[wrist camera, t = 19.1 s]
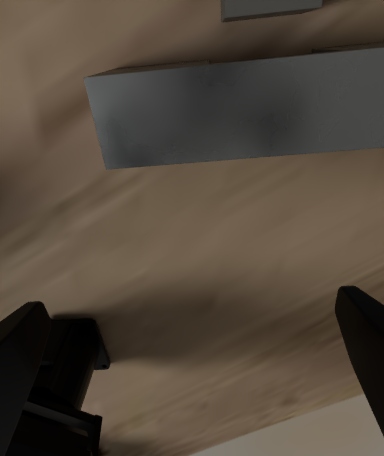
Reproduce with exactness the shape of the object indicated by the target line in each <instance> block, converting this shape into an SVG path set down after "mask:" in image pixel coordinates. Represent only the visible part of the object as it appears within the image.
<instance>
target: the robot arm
mask: <svg viewBox="0 0 384 456" xmlns="http://www.w3.org/2000/svg"><path fill="white" fill-rule="evenodd" d="M335 314H336V317H337V321H338V324H339V327H340V330H341V333H342V336H343V339H344V343H345V346H346V349H347V352H348V355H349V358H350V361H351V364H352V366H353V369H354V371H355V373H356V376H357V378H358V380H359V382H360V385H361V387H362V389H363V391H364V394H365V396H366V398H367V400H368V402H369V405H370V407H371V409H372V411H373V414H374V416H375V418H376V420H377V423H378V425H379V427H380V429H381V432H382V434H383V436H384V305H383V304H381V303H380V302H378V301H377V300H375V299H374V298H372V297H371V296H369V295H368V294H367V293H365V292H364V291H362V290H361V289H359V288H358V287H356V286H341V287H340V288H339V289H338V293H337V298H336V303H335ZM109 367H110V360H109V357H108V354H107V351H106V349H105V346H104V343H103V340H102V337H101V335H100V332H99V329H98V326H97V323H96V321H95V320H93V319H71V320H51V319H50V317H49V314H48V312H47V310H46V308H45V306H44V304H43V303H42V302H40V301H35V302H27V303H26V304H24V305H23V306H21V307H20V308H19V309H17V310H16V311H14V312H13V313H12V314H10V315H9V316H7V317H6V318H5V319H3V320H2V321H0V456H97V455H98V448H99V440H100V432H101V425H102V417H101V416H99V415H92V414H89V413H86V412H83V411H81V407H82V404H83V401H84V398H85V395H86V392H87V389H88V386H89V383H90V380H91V377H92V374H93V371H94V370H105V369H108V368H109Z"/></svg>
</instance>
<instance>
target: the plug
mask: <svg viewBox="0 0 384 456" xmlns="http://www.w3.org/2000/svg"><path fill="white" fill-rule="evenodd" d="M320 7H322V0H221V22H229V21H238V20H247V19H256V18H265V17H274V16H284V15H293V14H302V13H305V12H308V11H311V10H314V9H317V8H320Z"/></svg>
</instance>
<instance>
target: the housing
mask: <svg viewBox="0 0 384 456" xmlns="http://www.w3.org/2000/svg"><path fill="white" fill-rule="evenodd" d="M84 81H85V85H86V89H87V94H88V98H89V102H90V106H91V110H92V114H93V118H94V122H95V126H96V130H97V135H98V139H99V143H100V147H101V151H102V155H103V159H104V163H105V167H106V170H107V169H119V168H132V167H144V166H157V165H169V164H182V163H195V162H207V161H220V160H232V159H245V158H257V157H270V156H283V155H295V154H308V153H320V152H333V151H345V150H358V149H371V148H383V147H384V42H377V43H367V44H357V45H347V46H338V47H328V48H318V49H312V54H303V55H293V56H283V57H273V58H263V59H253V60H243V61H233V62H223V63H213V64H209V61H208V60H200V61H190V62H180V63H171V64H161V65H151V66H141V67H131V68H121V69H112V70H109V71H105V72H102V73H98V74H95V75H91V76H88V77H84Z"/></svg>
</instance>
